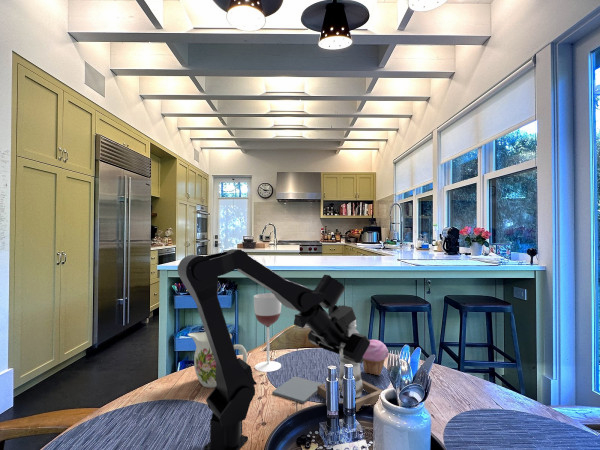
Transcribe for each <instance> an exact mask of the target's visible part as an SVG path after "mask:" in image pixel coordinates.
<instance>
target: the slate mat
mask: <svg viewBox="0 0 600 450" xmlns="http://www.w3.org/2000/svg"><path fill="white" fill-rule="evenodd" d="M322 384H323V382H322V383H321V382H319V381H313V380H309V379H306V378H302V377H298V376H293V377H291V378H290V379H288V380H287V381H286V382H284V383H283V384H281V385H280V386H278V387H277V388H276V389H274V390H273V391H272V395H275V396H277V397H281V398H284V399H288V400H290V401H295V402H298V403H301V404H306V403H307V402H308V401H309V400H310V399H311V398H313V397H314V396H315V395H316V394H318V388H317V386H319V385H322Z"/></svg>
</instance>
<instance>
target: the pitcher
mask: <svg viewBox="0 0 600 450" xmlns="http://www.w3.org/2000/svg"><path fill="white" fill-rule="evenodd" d="M229 334H230V337H231V339H232V337H233V334H231V333H230V332H229ZM187 336H188V337H190V338H191V339H193V341H194V344H195V347H196V348H195V352H194V356H193V357H194V359H193V360H194V361H193V363H194V365H193V366H194V369H195V370H194V371H195V374H196V377H197V379H198V381H199V382H200V384H201V386H202V387H205V388H210V389H211V388H215V387H216V386H217V384H216V377H215V374H216V362H215V359H214V356H213V353H212V350H211V347H210V344H209V341H208V338H207V335H206V332H205V331H202V332H189V333H187ZM233 346H234V349H235V350H239V351H240V352H241V355H242V360H243V361H244V362H246V363H247V364H248V353H247V350H246V348H245V347H244V346H243V345H242V344H233Z"/></svg>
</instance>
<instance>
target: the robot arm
mask: <svg viewBox="0 0 600 450" xmlns="http://www.w3.org/2000/svg"><path fill="white" fill-rule="evenodd" d="M235 270H236V271H237V272H239V273H240V274H242V275H244V276H245V277H246V278H248V279H250V280H252V281H253V282H255V283H256V284H258V285H260V286H261V287H263V288H265V289H266V290H267V291H270V293H273V294H274V295H275V297H276V298H277V299H278V300H279V301H280V302H281V305H282V306H284V307H285V308H288V309H291V310H292V311H296V312H299V313H297V314H294V320H293V325H294V326H296V327H298V328H302V329H304V328H305V326H307V327H308V328H309V329H310V331H309V332H308V334H307V340H308V341H309V342H310V343H311V344H313V345H315V346H318V347H319V348H321V349H324V350H326V351H329V352H331V353H334V354H337V355H340V353H339V347H340V346H341V344H342V345H344V348H343V355H344V357H343V358H345V359H348V360H350V361H353V362H355V363H360V365H361V364H362V365H363V361H364V360H363V356H364V354H365V352H366V350H367V348H368V347H369V345H370V340H371V339H369V338H368V337H367V336H366V335H364V334H361V333H359V334H358V333H353V334H352V335H351V336H350V337H349V336H346V335H344V333H346V332H347V330H348V329H347V328H346V327H347V326H348V325H349V324H350V323H351V322H353V321H355V320H356V321H357V316H356V313H355V312H354V308H353V307H351V306H347V305H336V304H337V303H338V301H339V300H340V298H341V297H342V295H343V294H344V292H345V290H346V287H345V286H344V284H343V283H342V282H339V281H338V280H337V279H336V278H333V277H332V276H331V275H330V274H323V276H322V278H321V280H320V281H319V282H318V284H317V286H316V287H315V288H314V289H311V288H309V287H307V286H305V285H301V284H300V283H297V282H294V281H290V280H288V279H286V278H284V277H283V276H281V275H280V274H279V273H277V272H275V271H273V270H272V269H270V268H269V267H267V266H266V265H265V264H263V263H262V262H260V261H259V260H257V258H256V259H255V258H254V257H253V256H251V255H249V253H247V251H246V250H243V249H237V248H233V249H232V248H231V249H229V250H226V251H222V252H217V253H212V254H208V255H199V254H189V255H187V256H185V257H183V258H182V259H181V260H180V262H179V263H178V265H177V275H178V276H179V278H180V280H181V282H182V284H183V285H184V287H185V289H186V290H187V292H188V293H189V294H190V296H191V297H192V299H193V300H194V302H195V304H196V309H197V310H198V313H199V317H200V320H201V323H202V326H203V329H204V332H206V335H207V338H208V341H209V344H210V347H211V350H212V353H213V356H214V359H215V362H216V374H215V377H216V384H217V386H216V387H213V390H212V391H211V392H210V393H209V395H208V396H207V397H206V398H205V402H206V406H208V409H210V411H211V412H212V414H211V418H210V424H209V427H210V428H209V432H210V433H209V442H208V443H207V444H206V445H204V446H203V450H240V449H241V448H242V447H243V446H244V445H245V444H246V443H247V442H248V441H249V436H247V435H244V434H243V421H245V420H246V419H247V416H248V412H249V409H250V406H251V402H252V401H253V399H254V398H255V395H256V385H258V383H257V382H256V380H255V378H254V377H253V376H254V375H253V369H252V367H251V365H250V364H249V363H248V362H247V363H246V362H244V361H243V358H240V357H238V356H237V353H236V349H234V346H233V345H234V344H233V341H232V338H231V337H230V334H231V333H230V331H229V329H228V325H227V322H226V319H225V316H224V313H223V309H222V307H221V303H220V301H219V298H218V292H219V291H218V290H219V278H218V277H220V276H224V275H226V274H227V275H228V273H231V272H234V271H235ZM327 309H328V310H327ZM326 310H327V311H328V312H327V311H326ZM229 333H230V334H229Z"/></svg>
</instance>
